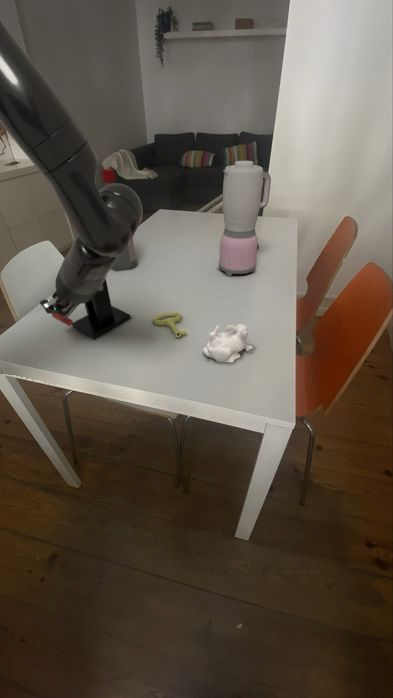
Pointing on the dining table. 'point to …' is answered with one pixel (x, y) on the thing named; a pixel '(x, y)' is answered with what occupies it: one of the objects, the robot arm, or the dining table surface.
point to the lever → (65, 317)
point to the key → (170, 322)
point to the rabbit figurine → (227, 343)
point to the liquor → (128, 256)
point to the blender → (241, 216)
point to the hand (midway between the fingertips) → (61, 311)
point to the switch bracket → (100, 315)
